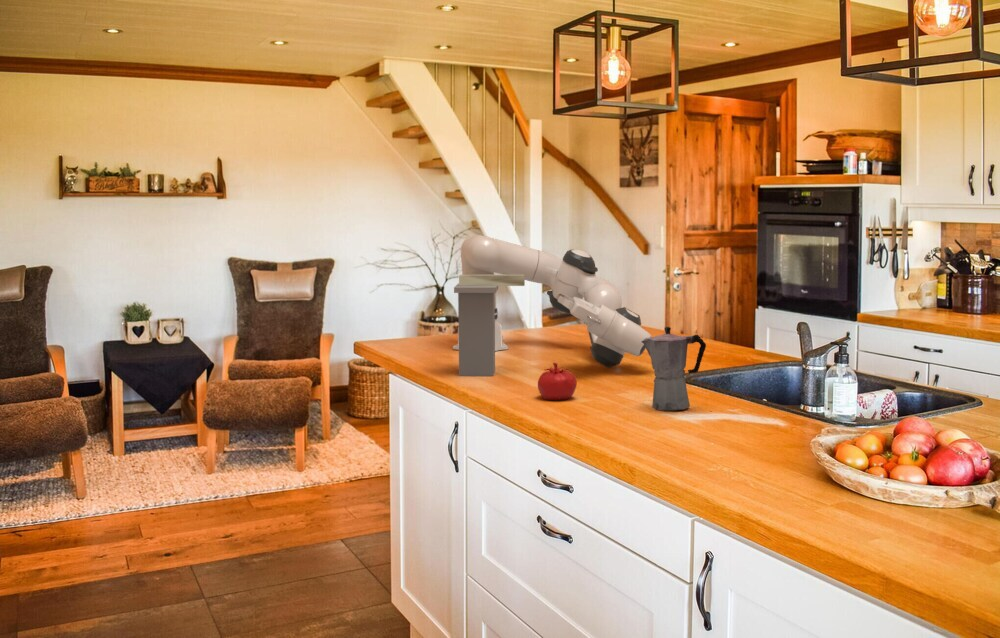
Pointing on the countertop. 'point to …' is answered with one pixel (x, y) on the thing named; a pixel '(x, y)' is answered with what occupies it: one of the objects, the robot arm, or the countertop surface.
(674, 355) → the moka pot
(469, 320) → the tall stand
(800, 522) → the countertop surface
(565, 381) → the pomegranate
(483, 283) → the beige block
